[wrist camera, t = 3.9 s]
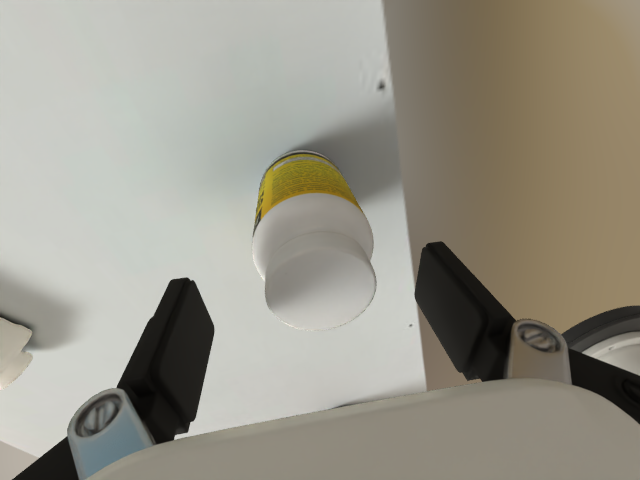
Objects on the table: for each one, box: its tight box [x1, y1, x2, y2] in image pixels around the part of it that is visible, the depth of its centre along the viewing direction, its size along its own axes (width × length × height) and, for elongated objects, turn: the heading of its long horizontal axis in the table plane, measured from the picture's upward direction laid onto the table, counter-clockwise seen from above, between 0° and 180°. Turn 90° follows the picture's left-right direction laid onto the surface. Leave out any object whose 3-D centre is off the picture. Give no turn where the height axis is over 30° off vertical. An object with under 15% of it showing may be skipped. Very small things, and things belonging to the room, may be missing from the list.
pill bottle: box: [252, 150, 376, 331], centre depth 16 cm, size 6×6×11 cm
